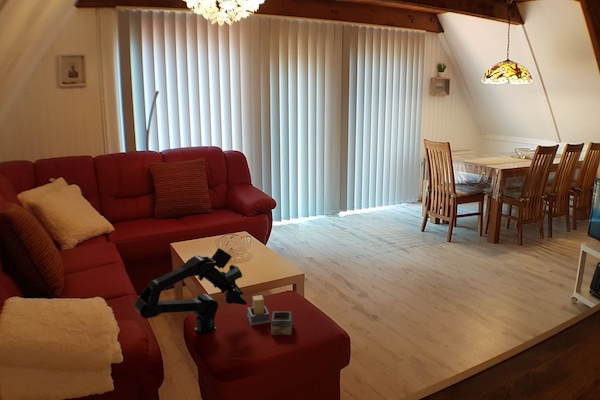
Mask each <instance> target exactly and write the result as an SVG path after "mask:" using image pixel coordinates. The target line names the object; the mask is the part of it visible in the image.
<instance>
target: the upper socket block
mask: <svg viewBox="0 0 600 400" xmlns="http://www.w3.org/2000/svg"><path fill="white" fill-rule="evenodd" d="M292 329H293V316H292V311H288V310H287V311H284V310H283V311H279V310H278V311H275V310H273V311H272V314H271V326H270V333H271V335H274V336H275V335H276V336H277V335H279V336H282V335H285V336H287V335H288V336H289V335H291V336H292V333H293V332H292V331H293V330H292Z"/></svg>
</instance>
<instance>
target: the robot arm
mask: <svg viewBox="0 0 600 400" xmlns="http://www.w3.org/2000/svg"><path fill="white" fill-rule="evenodd" d="M231 258H233V256H232V255H230V253H228V252H227V251H225V250H223V249H222V248H220V247H218V248H217V249H216V250H215V253H213V255H212V256H211V257H210V256H200V255H194V256H192V257H190V258H189V259H188V260H187V261H185V262H184V265H181V266H179V267H178V268H176V269H173V270H172V271H170V272H168V273H166V274H164V275H162V276H160V277H158V278H156V279H151V280H150V281H149V283H147V286H146V288H144V290H143V291H142V292H141V293H140V295H139V297H138V299H137V300H136V301H135V303H134V310H135V311H136V312H137V313H138V314H139V315H140V316H141V317H142V318H143V319H152V318H155V317H158V316H160V315H161V314H168V313H169V314H170V313H173V314H174V313H188V312H189V313H190V312H194V314H195V315H196V317H195V322H196V326H195V328H194V331H196V332H197V333H199V334H201V335H203V336H205V335H207V334H210V333H211V332H213V331H216V330H217V327H216V326H215V318H216V315H217V311H218V309H219V303H218V301H217V300H216V299H214V298H212V297H211V295H208V294H207V293H203V294H200V293H198V294H197V295H196V296H197V297H196V298H194V299H174V300H172V299H171V300H160V296H161V293H162V291H164V290H166V289H168V288H169V287H172V286H174V285H175V284H177V283H179V282H182V281H183V280H185V279H187V278H190V277H197V279H198V281H201V282H202V281H203V279H205V280H206V281H208V282H209V283H211V284H212V285H213V287H214V288H216V289H217V288H218V289H219V290H220V292H221V293H222V294H224V295H223V296H224V297H223V298H224V300H225V303H227V304H228V305H231V304H234V305H235V304H237V305H242V306H243V305H245V306H247V304H248V302H247V301H246V300H245V299H244V298H243V296H242V295H244V292H243V290H242V289H240V288H241V287H239V286H238V284H237V283H236V281H237V280H239V279H241V278H243V277H244V276H243V273H242V271H241V270H240V268H239V266H237V265H234V264H231V265H229V267H228V269H227V272H225V271H220V270H221V269H222V270H223V269H225V267H226V265H228V263H229V261H231V260H232V259H231ZM217 268H218V269H217Z"/></svg>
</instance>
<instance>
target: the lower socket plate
mask: <svg viewBox="0 0 600 400" xmlns="http://www.w3.org/2000/svg"><path fill="white" fill-rule="evenodd" d="M247 319H248V320H249V325H250V326H256V325H262V324H270V322H271V320H270V313H269V310H268V307H267V306H266V305H265V304H264V314H257V315H253V306H251V307H247Z"/></svg>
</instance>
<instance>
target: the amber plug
mask: <svg viewBox="0 0 600 400" xmlns="http://www.w3.org/2000/svg"><path fill="white" fill-rule="evenodd" d="M264 305H265V299H264V297H263V295H262V294H260V295H252V307H253V315H257V314H264Z"/></svg>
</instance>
